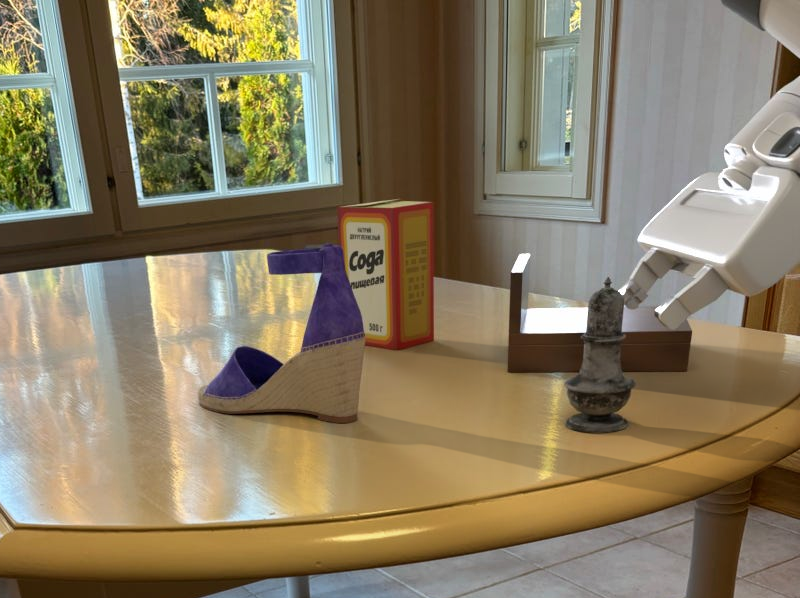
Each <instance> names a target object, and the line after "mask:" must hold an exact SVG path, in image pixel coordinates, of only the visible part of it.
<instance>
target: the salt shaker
mask: <svg viewBox="0 0 800 598" xmlns="http://www.w3.org/2000/svg"><path fill="white" fill-rule="evenodd" d="M611 280H612V279H611V278H610V277H609V276H607V277H606V279H605V280H604V281H603V284H604V287H601V288H600V289H599V290H597V291H595V292H593V293H592V294H591V295H590V297H589V298H588V300H587V301H588V302H587V308H588V313H587V327H586V333H585V334H583V335H582V336H581V339H582V340H584V355H583V363H582V367H581V369H580V372H577V374H576V375H574V376H572V377H568V378H567V379H566V380H564V381H563V386H564V387H565V389H567V391H566V396H567V399H568V402H569V404H570V406H571V407H572V408H573V409H574V410H575V411H577V412H578V413H576V414H572V416H570V417H569V418H567V419H566V420H565V421H564V425H565V427H566V428H568V429H569V430H572V431H575V432H580V433H587V434H589V433H590V434H606V433H616V432H619V431H622V430H624V429H626V428H627V427H628V426H629V421H628V420H627V419H626V418H624V417H623V416H622V415H620V414H617V412H620V411H621V410H622V409H623V407H624V408H625V406H626V405H627V403H628V402H629V400H630V398H631V395H632V389H633V388H635V387H636V385H637V382H636V380H635V379H633V378H631V377H629V376H626V375H625V374H624V373H623V372H622V370H621V365H620V354H621V343H622V340H623V339H625V338H626V335H625V334H624V333H622V321H623V310H624V296H623V295H622V294H621V293H620V292H619V290H616V289H614V287H611V284H612V283H613V281H611Z"/></svg>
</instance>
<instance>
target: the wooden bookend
mask: <svg viewBox="0 0 800 598" xmlns="http://www.w3.org/2000/svg"><path fill="white" fill-rule="evenodd" d="M530 268H531V253H520V254H518V257H517V258H516V261H515V263H514V265H513V267H512V270H510V271H511V272H510V278H509V282H510V284H509V310H508V311H509V312H508V338H507V341H508V343H507V344H508V346H507V373H579V372H580V369H581V367H582V363H583V355H584V340H582V339H581V336H582V335H583V334H585V333H586V327H587V313H588V307H567V308H566V307H565V308H563V307H560V308H529V292H530V273H531V272H530ZM659 306H660V305H653V306H652V305H651V306H649V305H648V306H638V307H637V308H636V309H634V310H631V309H628V308H626V307H624V310H623V321H622V333H624V334H625V335H626V338H625V339H623V340H622V343H621V354H620V365H621V370H622V373H624V372H629V373H630V372H688V368H689V361H690V353H691V345H692V337H693V329H692V327H691V325H690V323H689V321H688V318H687V319H686V320H685V321H684V322H683V323H682V324H681V325H680V326H679V327H678V328H677V329H675V330H671V329H668V328H667V327H665V326H663V325H662V324H661V323H660V321H659V320H658V319H657V318H656V317H655V310H656V309H657V308H658V307H659Z"/></svg>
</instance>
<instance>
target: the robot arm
mask: <svg viewBox="0 0 800 598" xmlns="http://www.w3.org/2000/svg"><path fill="white" fill-rule="evenodd" d="M720 2H721V4H722V6H723V7H724V9H725V8H726V9H727V10H729V11H730V12H732V13H733V14H735V15H736V16H738V17H740V18H741V19H743V20H744V21H746V22H747V23H749V24H751V25H752V26H754V27H755V28H757V29H758V30H760V31H761V32H767V33H768V34H769V35H771V36H772V38H774V39H775V40H777V41H778V42H779V43H780V44H782V45H783V46H784V48H786V49H787V50H788V51H790V52H791V53H792V54H793V55H795V56H796V57H797V58H798V59H800V0H720ZM723 156H724V160H725V163H726V165H727V166H726V167H725V168H724V169H723V171H722V172H718V171H717V172H715V171H710V172H705V173H703V174H701V175H699V176H698V177H696V178H695V179H694V180H692V181H691V182H690V183H689V184H687V186H685V187H684V188H683V189H682V190H681V191H680V192H679V193H678V194H677V195H675V197H673V198H672V199H671V200H670V201H669V202H668V203H667V204H666V205H665V206H664V207H663V208H662V209H661V210H660V211H659V212H658V213H657V214H656V215H655V216H654V217H653V218H652V219H651V220H650V221H649V222H648V223H647V224H646V225H644V228H642V230H641V232H640V234H639V236H638V237H637V244H638V245H639V247H640V248H641V249H642V250H643V251H644V253H645V254H644V255H643V256H642V257H641V258H640V259H639V261H638V263H637V265H636V266H635V268H634V269H633V271H632V273H631V275H630V276H629V278H628V280H626V282H625V283H624V284H623V285H622V286H621V287H620V288H619V289H618V291H619V292H620V293H621V294H622V295H623V296H624V307H626V308H628V309H631V310H634V309H636V308H637V307H640V304H642V303H643V302H644V301H645V300H646V299H647V298H648V297H649V295H648V292H649V291H650V289H651V288H652V287H653V285H655V283H656V282H657V281H658V279H663V277H665V275H666V274H668V272H669V271H672V272H675V273H678V274H680V275H683V276H687V277H689V278H692V279H693V280H692V281H691V282H690V283H688V284H687V285H686V286H684V287H683V288H682V289H681V290H679V291H677V293H676V294H675V295H674V296H673V295H669V296H667V298H666V299H665V300H664V301H663V302H662V303H661V304H660V305H658V306H659V307H658V308H657V309H656V310H655V317H656V318H657V319H658V320H659V321H660V323H661V324H662V325H663V326H665V327H667V328H668V329H671V330H675V329H677V328H678V327H679V326H680V325H681V324H682V323H683V322H684V321H685V320H686V319H687V320H688V318H689V317H690V316H692V315H693V314H695V313H697V312H699V311H701V310H702V309H704V308H705V307H707V306H709V305H710V304H713V302H715V301H717V300H718V299H719V298H721V296H723V294H724V293H725V292H726V291H727V290H728V291H731V292H734V293H736V294H740V295H743V296H746V297H748V298H751V297H754V296H756V295H759V294H760V293H762V292H764V291H766V290H767V289H769V288H772V287H773V286H774V285H776V284H777V283H778V282H779V281H781V280H782V279H783V278H784V277H785V276H786V275H787V274H788V273H789V272H791V271H792V270H793V269H795V267H797V266H798V265H799V264H800V75H799V76H797V77H796V78H795V79H794V80H792V81H791V82H789V83H787V84H786V85H783V87H782V88H780V89H779V90H778V91H777V92H775V94H773V96H772V97H771V98H770V99H769V100H768V101H766V103H765V104H764V105H763V107H761V108H760V110H759V111H758V112H757V113H756V114H755V115H754V116H753V117H752V118H751V119H750V120H749V121H748V122H747V123H746V124H745V125H744V126H743V127H742V129H741V130H739V132H738V133H737V134H735V136H734V137H733V138H732V139H731V140H730V141H729V142H728V143H727V144H726V145H725V147H724V149H723Z"/></svg>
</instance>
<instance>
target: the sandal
mask: <svg viewBox="0 0 800 598" xmlns="http://www.w3.org/2000/svg"><path fill="white" fill-rule="evenodd" d="M266 262H267V269H268V275H271V276H272V275H273V276H274V275H275V276H283V275H284V276H285V275H301V274H304V275H305V274H320V276H319V279H318V280H319V281H318V282H317V283H318V285H317V288H316V291H315V295H314V298H313V301H312V305H311V309H310V312H309V316H308V319H307V323H306V326H305V330H304V333H303V338H302V343H301V347H300V351H299V352H297V353H296V354H295V355H293V356H292V357H290V358H289V359H288V360H287V361H286V362H285V363H283V362H281V361H280V360H279V359H277V358H276V357H274V356H273V355H271V354H270V353H267V352H266V351H263V350H261V349H258V348H255V347H252V346H248V345H242V346H237V347H236V348H235V349H234V351H233V352H232V354H231V356H229V359H228V361H227V362H226V363H225V365H224V366H223V367H222V369H221V370H220V371H219V373H217V375H216V376H215V377H213V379H212V380H211V381H210V382H209V383H208V384H206V385H203V386H201V387H200V388H198V390H197V399H198V402H199V403H198V404H199V405H200V406H201V407H202V408H204V409H207V410H208V411H212V412H216V413H222V414H229V415H230V414H231V415H235V414H236V415H237V414H239V415H240V414H254V413H255V414H256V413H271V412H272V413H273V412H286V413H287V412H291V413H292V412H293V413H301V414H308V415H313V416H317V417H318V418H317V419H318V420H320V421H324V422H330V423H336V424H350V423H352V422H355V421H357V420H358V412H359V411H358V409H359V400H360V390H361V389H360V388H361V380H362V374H363V373H362V371H363V364H364V356H365V347H366V345H365V340H366V338H365V332H364V328H363V320H362V315H361V312H360V309H359V306H358V304H357V301H356V299H355V296H354V294H353V291H352V288H351V285H350V282H349V279H348V276H347V273H346V269H345V263H344V253H343V248H342V247H341V246H339V244H338V245H333V244H332V243H329V242H326V243H324V244H321V243H320V244H307V245H306V246H305V247H304V249H288V250H279V251H273V252H272V251H271V252H268V253H267V254H266Z"/></svg>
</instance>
